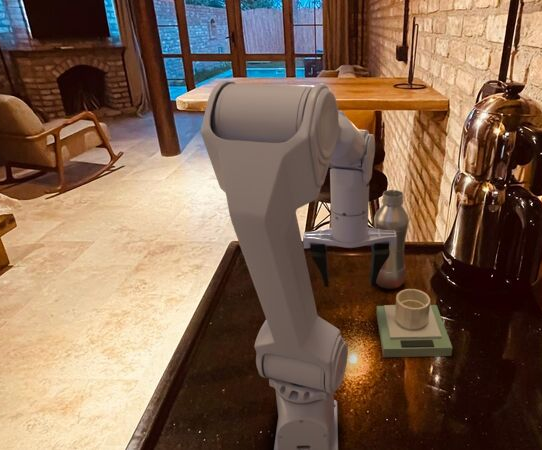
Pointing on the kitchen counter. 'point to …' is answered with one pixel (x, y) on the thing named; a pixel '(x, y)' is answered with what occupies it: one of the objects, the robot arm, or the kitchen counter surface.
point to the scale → (412, 335)
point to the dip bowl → (412, 308)
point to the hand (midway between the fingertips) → (349, 282)
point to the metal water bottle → (396, 220)
